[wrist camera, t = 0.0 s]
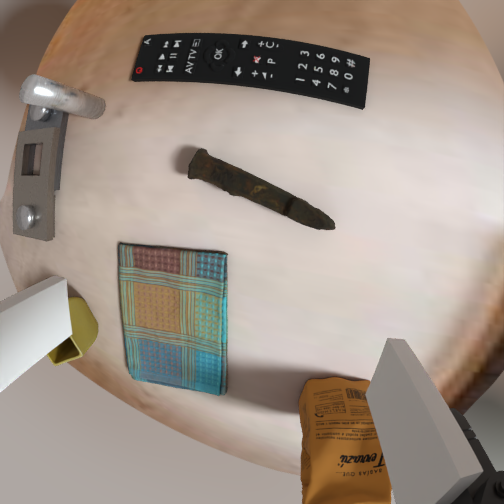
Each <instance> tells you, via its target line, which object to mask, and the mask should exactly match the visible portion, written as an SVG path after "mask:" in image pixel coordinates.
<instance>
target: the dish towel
mask: <svg viewBox="0 0 504 504" xmlns="http://www.w3.org/2000/svg"><path fill="white" fill-rule="evenodd" d="M227 255H228V254H227V253H225V252H218V251H206V250H190V249H179V248H169V247H158V246H146V245H132V244H130V245H128V244H122V243H120V244H119V245H118V256H119V259H118V260H119V287H120V302H121V312H122V322H123V330H124V339H125V347H126V356H127V364H128V369H129V374H131V376H132V378H133V379H134V380H138V381H143V382H150V383H155V384H160V385H165V386H170V387H175V388H182V389H189V390H194V391H200V392H206V393H210V394H214V395H217V396H219V395H225V393H226V392H227V331H228V326H227V322H228V319H227Z"/></svg>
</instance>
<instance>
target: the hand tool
mask: <svg viewBox="0 0 504 504" xmlns="http://www.w3.org/2000/svg"><path fill="white" fill-rule="evenodd" d="M188 178H189V179H200V180H203V181H205V182H209V183H212V184H214V185H216V186H217V187H219V188H221V189H222V190H224V191H227V192H228V193H229V194H230V195H233V196H242V197H244V198H247V199H249V200H251V201H253V202H255V203H258V204H260V205H263V206H265V207H267V208H269V209H272V210H274V211H276V212H278V213H280V214H282V215H284V216H287V217H288V218H290V219H292V220H294V221H296V222H298V223H300V224H303V225H305V226H309V227H311V228H315V229H318V230H320V229H325V230H334V229H335V228H336V227H335V223H334V221H333V220H332V219H331V218H330V217H329V216H328V215H326V214H325V213H324V212H322V211H321V210H319V209H317V208H314V207H313V206H312V205H310V204H309V203H308V202H306V201H305V200H303V199H300V198H298V197H296V196H294V195H292V194H290V193H288V192H286V191H284V190H282V189H280V188H278V187H276V186H274V185H272V184H270V183H269V182H267V181H265V180H263V179H260V178H258V177H256V176H254V175H252V174H250V173H248V172H246V171H244V170H242V169H240V168H238V167H235V166H233V165H231V164H228V163H226V162H224V161H222V160H220V159H217V158H214V157H212V156H210V155H209V154H208V152H207V150H206V149H202V148H201V149H199V150H198V151H197V152H196V154H195V156H194V157H193V159H192V161H191V163H190V164H189V171H188Z"/></svg>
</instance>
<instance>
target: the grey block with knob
mask: <svg viewBox="0 0 504 504" xmlns="http://www.w3.org/2000/svg"><path fill="white" fill-rule="evenodd" d="M59 134H60V128H57V127H51V128H43V129H35V130H28V131H22V132H19V135H18V143H17V151H16V160H15V172H14V188H13V234H17V235H21V236H25V237H30V238H34V239H39V240H43V241H50V240H53V237H55V195H54V179H55V167H56V157H57V149H58V141H59ZM41 143H43V148H42V157H41V167H40V176H38V175H27V170H28V159H29V150H30V144H41Z"/></svg>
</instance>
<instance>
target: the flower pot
mask: <svg viewBox="0 0 504 504" xmlns="http://www.w3.org/2000/svg"><path fill="white" fill-rule="evenodd" d="M68 304H69V312H70V320H71V328H72V335H71V336H69V337H68V338H67V339H65V340H64V341H63V342H62V343H60V344H59V345H58V346H56V347H55V348H54V349H53V350H51V351H50V352H49V353H48V354H47V356H48V357H49V359H50V361H51V362H52V363H53V365H54V366H58V365H60V364H63V363H65V362H68V361H71V360H74V359H77V358H80V357H82V356H83V355H84V354H85V353H86V351H87V350H88V349H89V348H90V346H91V345H92V344H93V343H94V341H95V339H96V337H97V334H98V323H97V321H96V319H95V318H94V316H93V314H92V312H91V311H90V309H89V307H88V305H87V303H86V302H85V300H84V299H82V298H79V297H70V298H68Z"/></svg>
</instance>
